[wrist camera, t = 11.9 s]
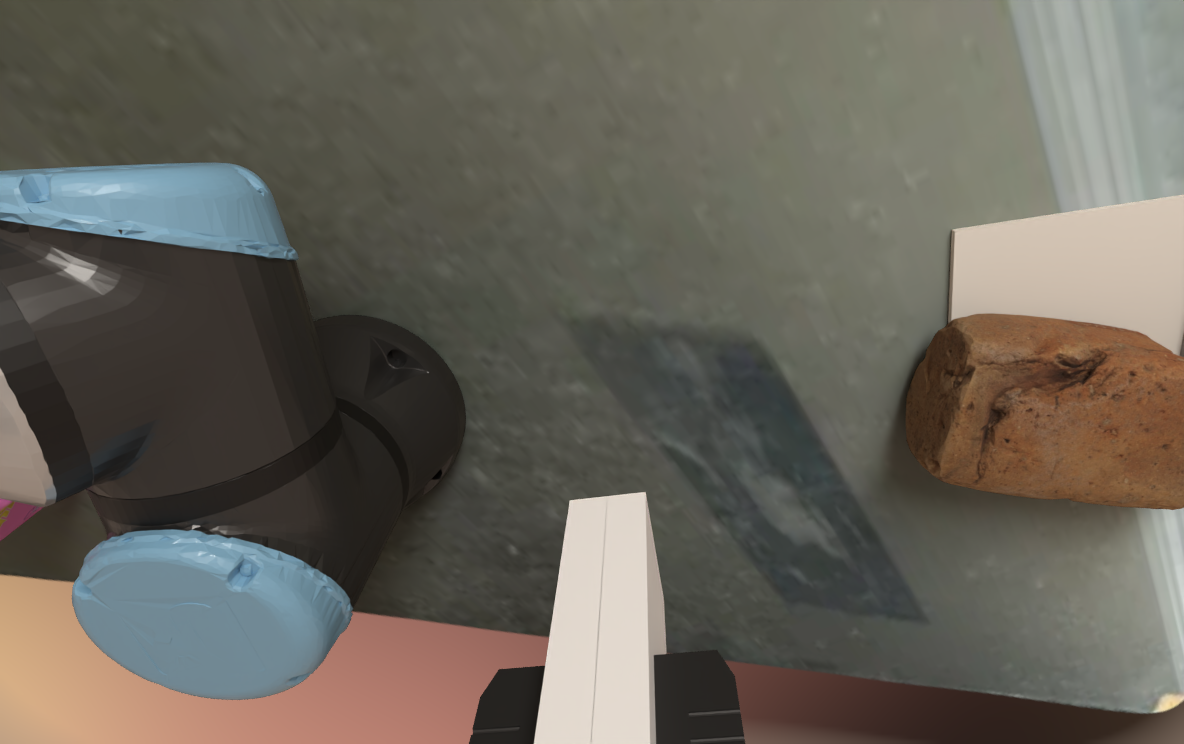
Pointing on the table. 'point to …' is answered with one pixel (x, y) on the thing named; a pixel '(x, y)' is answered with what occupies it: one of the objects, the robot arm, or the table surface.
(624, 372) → the table surface
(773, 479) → the table surface
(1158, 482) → the raisin bread loaf
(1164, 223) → the mat
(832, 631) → the table surface
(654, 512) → the table surface
